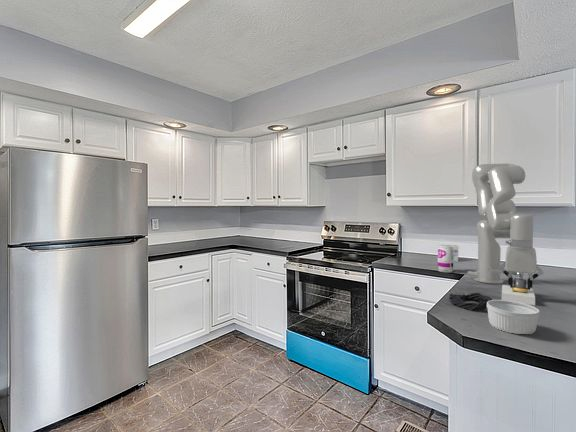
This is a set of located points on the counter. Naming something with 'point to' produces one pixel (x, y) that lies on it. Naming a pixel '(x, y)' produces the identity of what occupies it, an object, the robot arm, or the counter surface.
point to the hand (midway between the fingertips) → (519, 287)
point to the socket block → (518, 295)
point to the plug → (519, 285)
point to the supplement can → (445, 258)
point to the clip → (503, 273)
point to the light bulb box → (455, 252)
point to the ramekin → (512, 316)
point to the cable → (473, 296)
